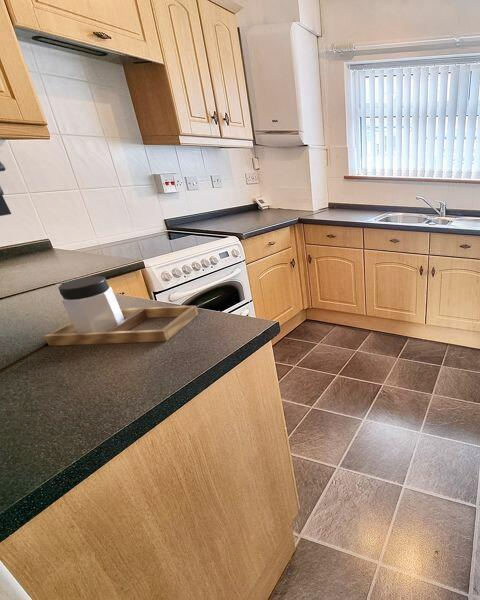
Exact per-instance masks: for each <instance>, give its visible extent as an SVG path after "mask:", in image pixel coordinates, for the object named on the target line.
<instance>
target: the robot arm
mask: <svg viewBox="0 0 480 600" xmlns="http://www.w3.org/2000/svg"><path fill="white" fill-rule="evenodd" d="M6 169H7V168H6V166H5V165H4V164H3V163H2V162H1V161H0V172H5V171H6ZM4 195H5V194H4V190H3V188H2V186H1V185H0V217H3V216H9V215H12V212H11V209H10V208H9V206H8V204H7V202H6V199H5V198H4Z"/></svg>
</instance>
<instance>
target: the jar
mask: <svg viewBox="0 0 480 600" xmlns="http://www.w3.org/2000/svg"><path fill="white" fill-rule="evenodd" d="M58 291H59V294H60V295H61V297H62V299H61V303H62V305H63V307H64V309H65V311H66V313H67V315H68V317H69V319H70V322H71V321H72V323H73V325H74V327H75V329H76V331H77V333H89V332H105V331H107V330H108V329H110V328H112V327H113V326H115V325H116V324H118V323H119V322H121V321H123V320H124V317H123V314H122V312H121V308H120V305H119V302H118V300H117V297H116V295H115V292H114V290H113V288H112V286H109V283H108V281H107V279H106V277H104V276H101V275H100V276H97V275H96V276H87V277H81V278H77V279H72V280H70V281H67V282H63V283H62V284H60V285H59V286H58Z"/></svg>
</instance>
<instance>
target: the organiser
mask: <svg viewBox="0 0 480 600" xmlns="http://www.w3.org/2000/svg"><path fill="white" fill-rule="evenodd" d="M120 309H121V312H122V314H123V317H124V320H123V321H121V322H119V323H118V324H116V325H115V326H113V327H112V328H110V329H108V330H107V331H105V332H89V333H77V331H76V329H75V327H74V325H73V323H72V321H71V320H70V322H68V323H65V324H64V325H62V326H60V327H58V328H57V329H55V330H53V331H51V332H49V333H47V334H46V335H44V336H43V338H44V339H45V341H46V343H47V345H48V346H49V347H54V346H58V347H59V346H79V345H80V346H81V345H105V344H106V345H107V344H131V343H155V342H157V343H158V342H167V341H169V340H170V339H171V338H173V337H174V336H175V335H176V334H177V333H178V332H179V331H181V330H182V329H183V328H184V327H185V326H187V325H188V324H189V323H190V322H191V321H193V320H194V319H195V318H196V317H197V316H199V311H198V308H197V305H175V306H173V305H172V306H150V307H148V306H147V307H124V308H120ZM175 317H176V318H175ZM151 318H174V319H173V320H172V321H170V322H169V323H168V324H166V325H165V326H164V327H162V329H142V330H132V329H134V328H135V327H136V326H138V325H139V324H141V323H143V322H144V321H145V320H146V319H151Z"/></svg>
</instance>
